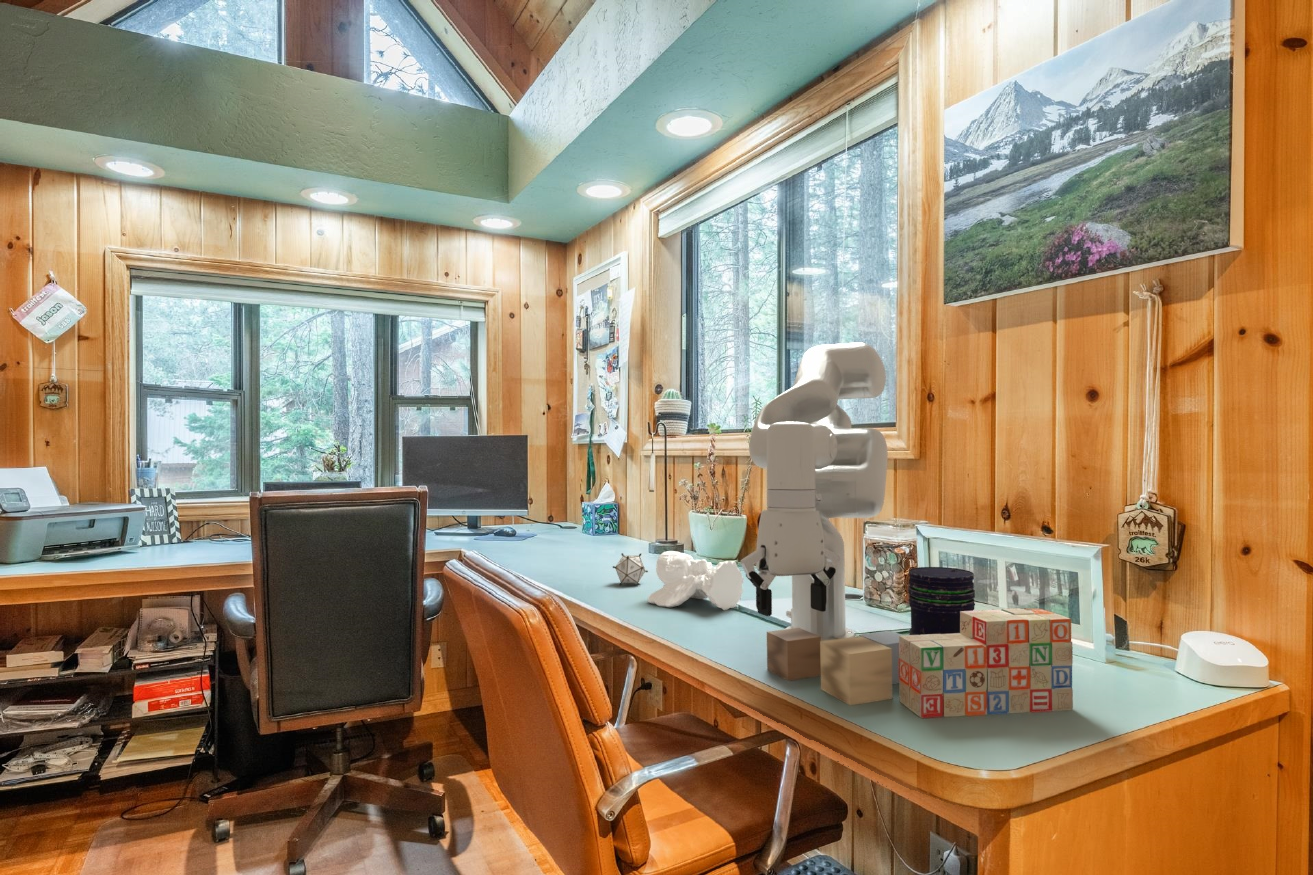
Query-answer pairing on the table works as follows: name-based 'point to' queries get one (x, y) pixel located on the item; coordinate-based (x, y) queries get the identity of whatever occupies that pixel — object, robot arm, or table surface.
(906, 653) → the stack of blocks
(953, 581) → the storage jar
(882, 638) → the slate cube
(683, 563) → the cherub figurine
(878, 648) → the oak block
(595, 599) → the table surface
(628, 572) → the game die
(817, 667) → the walnut cube
